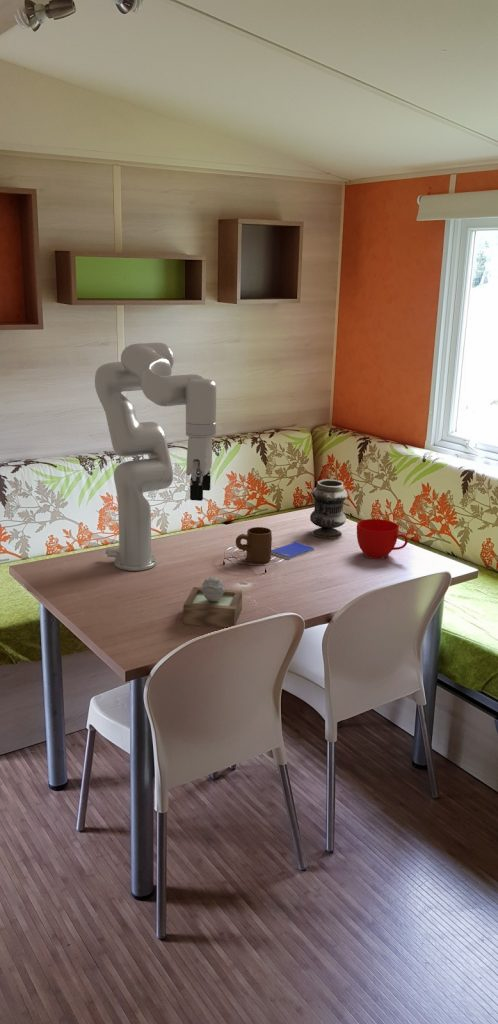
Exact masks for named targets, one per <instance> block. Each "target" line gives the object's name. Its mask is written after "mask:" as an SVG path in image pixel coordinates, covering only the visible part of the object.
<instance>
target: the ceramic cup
mask: <svg viewBox="0 0 498 1024" xmlns="http://www.w3.org/2000/svg"><path fill="white" fill-rule="evenodd" d="M399 530H400V527H399V524H397V523H395V521H392V520H391V521H390V520H388V519H387V520H386V519H382V518H369V519H362V520H359V521H358V522H357V523H356V538H357V544H358V546H359V549H360V550H361V551H362V552H363V554H364V556H366V557H367V558H369V559H373V560H380V559H381V560H382V559H385V558H387V556H389V554H391V552H393V551H397V550H402V549H403V548H406V546H407V544H408V542H409V538H408V536H407V535H406V534H403V533H399V532H400V531H399ZM399 537H402V538H403V539H404V543H403V544H402V545H400V546H396V544H397V541H398V538H399Z"/></svg>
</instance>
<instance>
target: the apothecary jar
mask: <svg viewBox="0 0 498 1024" xmlns="http://www.w3.org/2000/svg"><path fill="white" fill-rule="evenodd" d="M311 496H312V498H313V499H314V500H315V501H314V510H313V511H312V512H311V513H310V515H309V516H310V517H309V518H310V519H309V520H310V521H311V523H312V524H314V525H315V526H317V527H318V528H315V529H314V530H312V534H313V536H315V537H316V538H321V539H322V538H323V539H337V538H339V537H342V535H343V533H342V532H341V530H338V529H337V528H340V527H342V526H343V525H345V523H346V521H347V516H346V514H345V513H344V502H345V500H347V499H348V491H347V490H346V489H345V487H344V483H343V482H342V481H340V480H337V479H336V480H335V479H320V480H318V481H317V484H316V487H315V488H313V489H312V491H311Z"/></svg>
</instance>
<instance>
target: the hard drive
mask: <svg viewBox="0 0 498 1024" xmlns="http://www.w3.org/2000/svg"><path fill="white" fill-rule="evenodd" d="M314 551H315V547H314V546H310V545H307V544H303V543H300V542H297V541H294V542H292V543H288V544H285V545H283V546H280V547H277V548H274V549H271V555H273V556H276V557H279V558H282V559H284V560H285V559H286V560H288V561H289V560H292V559H295V558H298V557H300V556H303V555H306V554H309V553H312V552H314Z"/></svg>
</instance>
